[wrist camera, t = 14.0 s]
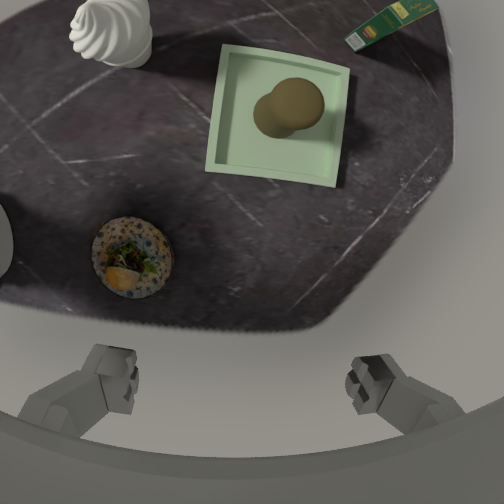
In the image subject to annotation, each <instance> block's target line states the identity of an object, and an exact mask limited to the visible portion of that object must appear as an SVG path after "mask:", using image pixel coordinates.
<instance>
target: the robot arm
mask: <svg viewBox="0 0 504 504" xmlns="http://www.w3.org/2000/svg"><path fill="white" fill-rule="evenodd" d="M12 256H13V236H12V231H11V227H10V223H9V220H8V218H7V215H6V213H5V211H4V209H3V208H2V206H1V205H0V278H1V276H2V275H3V274H4V273H5V272H6V271H7V270H8V268H9V266H10V264H11V261H12ZM136 360H137V356H136V351H135V350H132V349H125V348H119V347H113V346H107V345H100V344H95V345H94V346H93V348H92V350H91V352H90V354H89V356H88V357H87V359H86V361H85V363H84V365H83V367H82V369H81V371H79V370H77V371H75V372H73V373H71V374H69V375H67V376H65V377H63V378H62V379H60V380H58V381H56V382H54V383H52V384H50V385H48V386H47V387H45V388H43V389H41V390H39V391H37V392H35V393H33V394H31V395H29V397H28V399H27V401H26V402H25V404H24V406H23V408H22V409H21V411H20V413H19V415H18V417H14V416H12V415H9V414H7V413H4V412H2V411H0V504H504V397H502V398H500V399H498V400H496V401H494V402H492V403H489V404H487V405H485V406H483V407H481V408H478V409H476V410H474V411H471V412H469V413H467V414H466V413H465V412H464V411H463V410H462V408H461V407H460V406H459V405H458V403H457V402H456V401H455V400H454V399H453V397H451V396H448V395H446V394H445V393H442V392H440V391H438V390H436V389H434V388H432V387H430V386H428V385H426V384H424V383H422V382H420V381H418V380H416V379H414V378H412V377H407V376H406V375H405V373H404V372H403V371H402V369H401V368H400V367H399V366H398V364H397V363H396V362H395V360H394V359H393V358H392V357H391V355H389V354H381V355H374V356H362V357H355V358H354V360H353V362H352V364H351V366H352V368H353V369H352V370H351V371H350V372H349V373H348V374H347V377H346V381H345V387H346V391H347V394H348V396H350V397H351V398H353V399H354V401H353V403H352V404H353V406H354V407H355V409H356V411H357V413H358V415H361V414H368V413H375V412H377V414H378V415H379V416H381V417H382V418H383V419H385V420H386V421H387V422H389V423H390V424H391V425H392V426H394V427H395V428H397V429H398V430H399V431H400V432H402V433H403V434H404V435H402V436H398V437H394V438H390V439H386V440H382V441H378V442H374V443H369V444H364V445H359V446H354V447H349V448H344V449H338V450H331V451H324V452H317V453H309V454H299V455H288V456H275V457H254V458H253V457H251V458H216V457H196V456H182V455H171V454H162V453H154V452H146V451H140V450H133V449H127V448H122V447H116V446H111V445H107V444H102V443H97V442H93V441H89V440H85V439H81V438H80V437H81V436H82V435H83V434H84V433H85V432H87V431H88V430H89V429H90V428H91V427H92V426H94V425H95V424H96V423H97V422H98V421H99V420H101V419H102V418H103V417H104V416H105V415H106V414H108V411H110V412H116V413H123V414H130V415H131V413H132V409H133V405H134V396H133V395H134V394H136V393H137V389H138V382H139V372H138V368H137V367H136V366H135V364H136Z"/></svg>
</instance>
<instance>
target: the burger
mask: <svg viewBox="0 0 504 504" xmlns="http://www.w3.org/2000/svg"><path fill="white" fill-rule="evenodd" d="M90 258H91V263H92V267H93V269H94V272H95V274H96V276H97V277H98V279H99V281H100V282H101V283H102V285H103V286H105V287H106V288H107V289H108V290H110V291H111V292H112V293H114V294H115V295H118V296H120V297H122V298H124V299H125V298H127V299H131V300H139V299H145V298H149V297H151V296H153V295H155V294H157V293H158V292H160V291H161V290H162V289H163V288H164V286H165V285H166V284H167V282H168V281H169V279H170V277H171V275H172V269H173V265H174V266H175V258H176V257H175V253H174V252H173V249H172V246H171V243H170V241H169V239H168V237H167V236H165V235H164V234H163V233H162V232H161V231H160V230H159V228H158V227H157V226H155V225H154V224H152V223H150V222H149V221H147V220H144V219H141V218H137V217H134V216H130V215H129V216H124V217H120V218H115V219H110V220H109V221H107V222H105V223H102V224H101V225H100V226H99V227H98V228H97V230H96V231H95V233H94V239H93V242H92V243H91V250H90ZM115 295H114V297H115Z"/></svg>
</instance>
